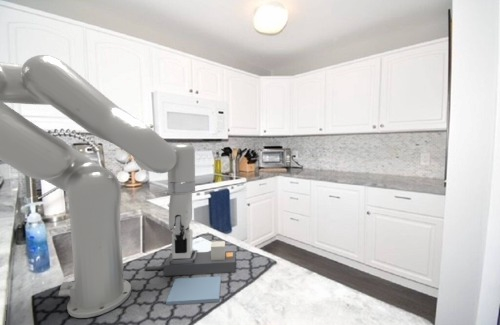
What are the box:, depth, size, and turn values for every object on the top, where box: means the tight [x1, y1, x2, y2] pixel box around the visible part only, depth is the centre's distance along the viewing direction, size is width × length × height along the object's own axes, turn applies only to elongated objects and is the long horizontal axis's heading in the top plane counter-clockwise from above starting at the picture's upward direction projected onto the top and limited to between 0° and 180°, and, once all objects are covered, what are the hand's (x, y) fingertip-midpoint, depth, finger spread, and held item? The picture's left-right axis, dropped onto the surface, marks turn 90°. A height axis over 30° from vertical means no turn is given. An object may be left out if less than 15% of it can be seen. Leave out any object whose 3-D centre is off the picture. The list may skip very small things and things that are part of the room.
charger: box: [171, 227, 193, 259], centre depth 66 cm, size 5×4×8 cm
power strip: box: [144, 240, 236, 277], centre depth 67 cm, size 26×7×7 cm, turn 95°
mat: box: [165, 275, 222, 306], centre depth 57 cm, size 12×9×1 cm
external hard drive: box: [192, 236, 213, 252], centre depth 81 cm, size 2×8×12 cm
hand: (182, 248), depth 67 cm, fingers closed on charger, 4 cm apart
